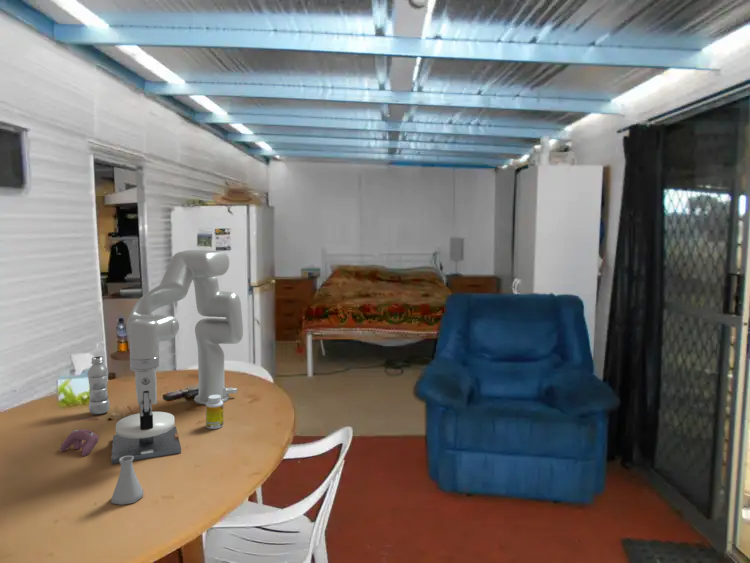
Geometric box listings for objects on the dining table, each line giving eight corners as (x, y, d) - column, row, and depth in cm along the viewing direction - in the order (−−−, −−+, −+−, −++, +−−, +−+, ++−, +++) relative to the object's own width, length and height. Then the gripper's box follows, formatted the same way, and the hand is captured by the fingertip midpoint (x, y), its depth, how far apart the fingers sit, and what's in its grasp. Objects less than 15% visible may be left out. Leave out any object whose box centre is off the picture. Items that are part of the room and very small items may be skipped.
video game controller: (95, 457, 146) (103, 432, 149) (83, 456, 142) (91, 431, 145) (70, 452, 149) (78, 428, 152) (57, 450, 145) (66, 426, 148)
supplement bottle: (224, 428, 165) (223, 398, 164) (206, 430, 164) (205, 399, 163) (223, 422, 171) (222, 393, 170) (205, 424, 169) (205, 394, 168)
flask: (118, 490, 125) (117, 452, 124) (148, 489, 126) (147, 451, 125) (105, 506, 118) (104, 465, 117) (137, 505, 118) (136, 464, 117)
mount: (175, 430, 163) (175, 414, 162) (181, 453, 147) (180, 434, 146) (113, 439, 155) (112, 422, 154) (111, 464, 139) (111, 445, 138)
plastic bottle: (114, 410, 180) (112, 355, 178) (102, 417, 173) (100, 360, 171) (97, 409, 180) (95, 354, 179) (84, 416, 174) (82, 359, 172)
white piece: (172, 414, 161) (172, 387, 160) (176, 433, 147) (176, 403, 146) (116, 422, 154) (115, 393, 153) (115, 442, 140) (114, 410, 139)
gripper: (161, 369, 136) (162, 433, 137) (157, 355, 151) (159, 412, 153) (130, 372, 132) (131, 437, 134) (130, 357, 148) (131, 416, 150)
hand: (146, 423), depth 144 cm, fingers open, 6 cm apart
